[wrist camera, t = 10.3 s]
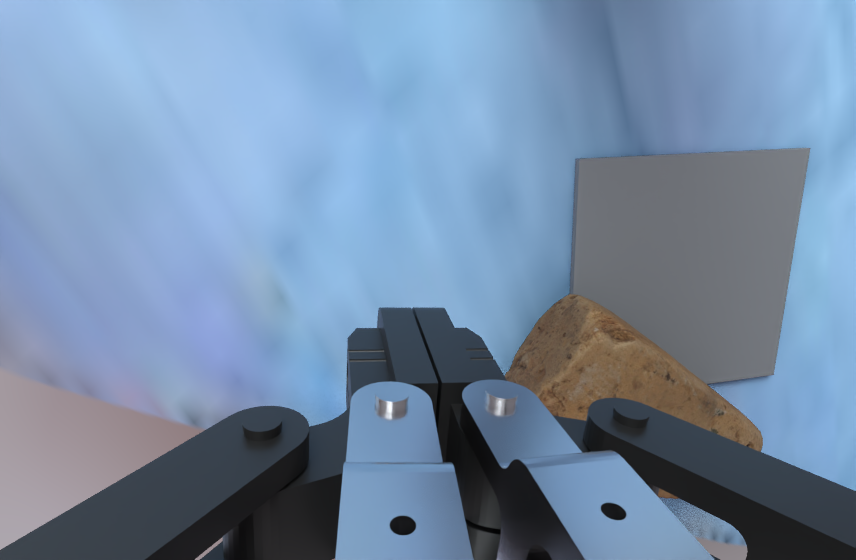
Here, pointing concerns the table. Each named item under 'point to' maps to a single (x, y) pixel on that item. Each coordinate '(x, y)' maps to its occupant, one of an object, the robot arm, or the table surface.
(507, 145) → the table surface
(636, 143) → the table surface
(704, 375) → the mat
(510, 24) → the table surface
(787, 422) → the table surface
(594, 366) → the rough sandstone rock
